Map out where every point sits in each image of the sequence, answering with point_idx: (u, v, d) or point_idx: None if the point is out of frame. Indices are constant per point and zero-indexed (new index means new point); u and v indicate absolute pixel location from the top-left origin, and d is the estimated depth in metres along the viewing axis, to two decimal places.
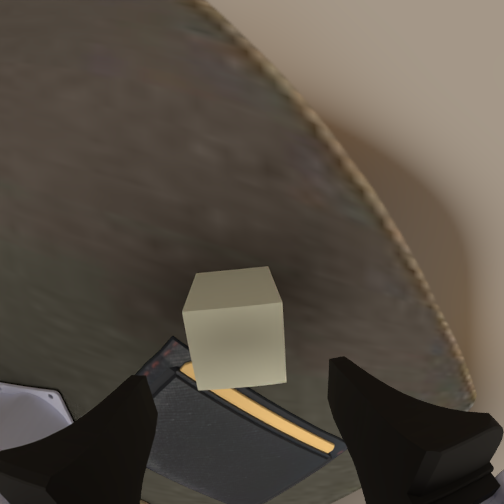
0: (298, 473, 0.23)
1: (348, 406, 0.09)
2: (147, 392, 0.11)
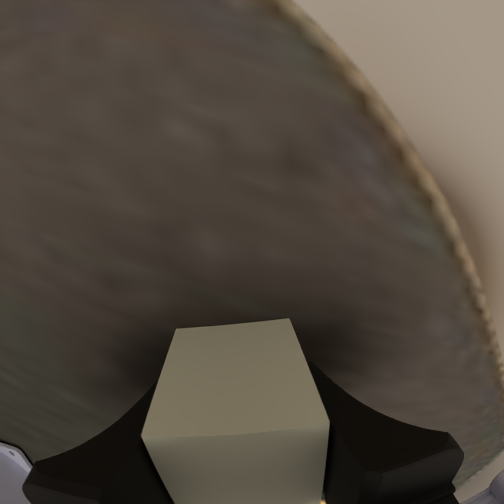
0: None
1: None
2: None
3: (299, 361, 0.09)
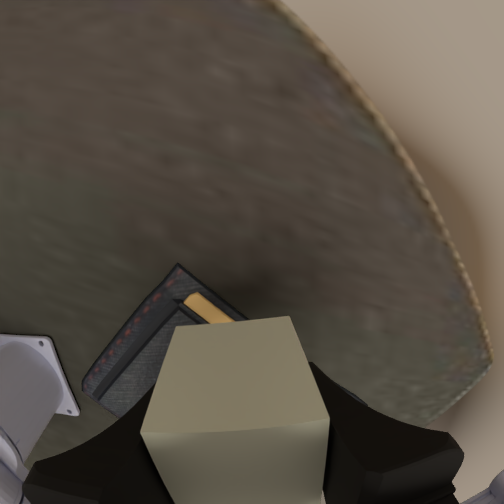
0: None
1: None
2: None
3: (299, 358, 0.09)
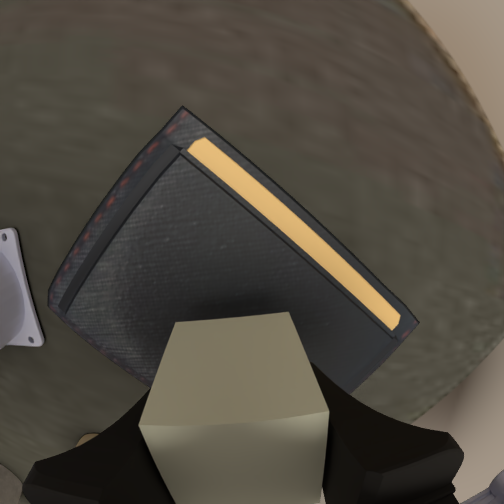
0: (353, 366, 0.17)
1: None
2: None
3: (298, 352, 0.09)
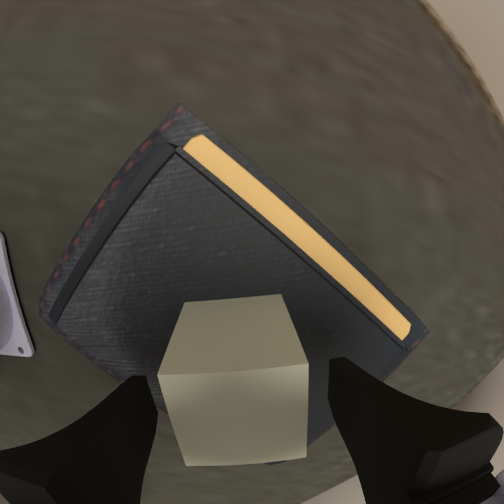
0: None
1: (348, 406, 0.09)
2: (147, 392, 0.11)
3: (287, 323, 0.12)
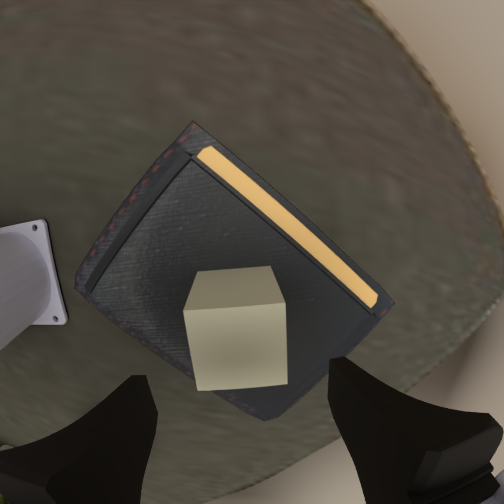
0: (336, 338, 0.21)
1: (348, 406, 0.09)
2: (146, 392, 0.11)
3: (273, 282, 0.16)
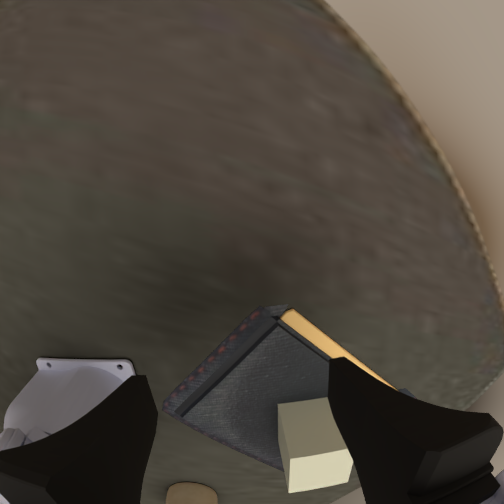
0: None
1: (348, 406, 0.09)
2: (147, 392, 0.11)
3: None
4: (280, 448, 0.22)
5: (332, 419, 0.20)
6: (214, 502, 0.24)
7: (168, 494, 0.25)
